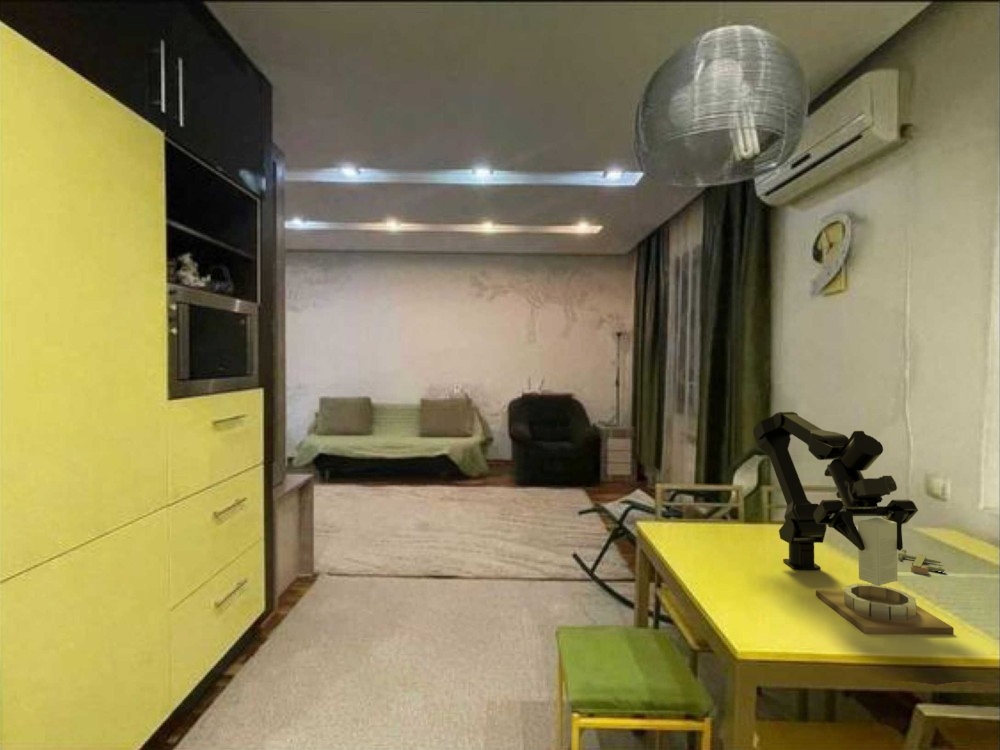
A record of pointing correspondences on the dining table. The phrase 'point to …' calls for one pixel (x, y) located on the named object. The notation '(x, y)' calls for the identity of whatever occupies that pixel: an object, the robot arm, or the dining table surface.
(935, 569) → the clamp
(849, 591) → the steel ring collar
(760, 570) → the dining table surface
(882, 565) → the skincare box
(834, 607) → the walnut fitting board
